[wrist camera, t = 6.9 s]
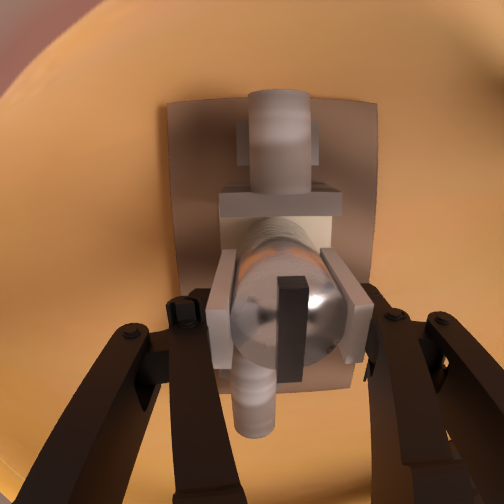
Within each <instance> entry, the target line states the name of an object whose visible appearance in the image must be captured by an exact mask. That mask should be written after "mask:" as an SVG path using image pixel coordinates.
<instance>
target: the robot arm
mask: <svg viewBox="0 0 504 504" xmlns="http://www.w3.org/2000/svg"><path fill="white" fill-rule="evenodd" d="M320 257H321V259H322V260H323V262H324V264H325V266H326V268H327V270H328V271H329V273H330V275H331V277H332V279H333V280H334V282H335V284H336V286H337V288H338V290H339V292H340V293H341V295H342V297H343V299H344V302H345V305H346V309H347V318H346V325H345V331H344V334H343V337H342V338H341V340H340V342H339V343H338V346H339V349H340V351H341V354H342V356H343V359H344V362H345V364H351V363H360V362H363V359H364V355H365V351H366V353H367V355H368V357H369V359H368V363H367V367H366V372H365V376H364V380H363V381H365V382H366V379H367V378H368V390H369V404H370V422H371V451H372V494H371V504H504V370H503V368H502V367H501V366H500V365H499V364H498V363H497V362H496V361H495V360H494V358H493V357H492V356H491V355H490V354H489V353H488V352H487V351H486V350H485V349H484V348H483V346H482V345H481V344H480V343H479V342H478V341H477V340H476V339H475V338H474V337H473V336H472V335H471V334H470V333H469V332H468V331H467V330H466V329H465V328H464V327H463V326H462V325H461V323H460V322H459V321H458V320H457V319H456V318H454V317H453V316H452V315H450V314H448V313H446V312H442V311H439V312H432V313H430V314H429V315H428V317H427V321H426V322H418V321H411V319H410V317H409V315H408V314H407V313H406V312H405V311H403V310H400V309H397V308H392V307H391V306H390V305H389V303H388V302H387V301H386V299H385V298H383V296H382V294H380V292H379V291H378V289H377V288H376V287H374V286H373V285H371V284H369V283H359V282H358V281H357V279H356V278H355V276H354V275H353V274H352V272H351V271H350V269H349V268H348V267H347V265H346V264H345V263H344V261H343V260H342V259H341V257H340V256H339V254H338V253H337V252H336V250H335V249H334V248H320ZM236 267H237V249H226V250H222V254H221V257H220V260H219V264H218V267H217V271H216V274H215V278H214V281H213V285H212V288H195V289H194V290H193V291H191V292H190V293H189V294H188V296H179V297H175V298H173V299H171V300H170V301H168V302H167V304H166V310H167V316H168V322H169V329H167V330H164V331H159V332H153V333H149V330H148V328H147V326H145V325H143V324H140V323H129V324H125V325H123V326H121V327H119V328H118V329H117V330H116V331H115V333H114V334H113V335H112V337H111V338H110V340H109V341H108V343H107V344H106V346H105V347H104V349H103V350H102V352H101V353H100V355H99V356H98V358H97V359H96V361H95V362H94V364H93V365H92V367H91V369H90V370H89V372H88V373H87V375H86V376H85V378H84V379H83V381H82V383H81V384H80V386H79V387H78V389H77V391H76V392H75V394H74V395H73V397H72V399H71V400H70V402H69V404H68V405H67V407H66V408H65V410H64V412H63V413H62V415H61V417H60V418H59V420H58V422H57V424H56V425H55V427H54V429H53V430H52V432H51V434H50V436H49V437H48V439H47V441H46V443H45V444H44V446H43V448H42V450H41V452H40V453H39V455H38V457H37V459H36V461H35V463H34V464H33V466H32V468H31V470H30V472H29V474H28V476H27V478H26V480H25V481H24V483H23V485H22V487H21V489H20V491H19V493H18V495H17V497H16V499H15V501H14V502H13V503H11V504H122V502H123V499H124V496H125V492H126V489H127V486H128V483H129V480H130V476H131V473H132V470H133V467H134V464H135V461H136V458H137V455H138V452H139V449H140V446H141V443H142V440H143V437H144V434H145V431H146V428H147V425H148V422H149V419H150V416H151V414H152V411H153V408H154V405H155V402H156V399H157V396H158V394H159V391H160V388H161V384H162V383H168V382H169V389H170V417H171V436H172V451H173V464H174V476H175V487H176V491H175V493H174V494H173V499H172V500H173V504H248V503H247V500H246V496H245V493H244V490H243V487H242V486H241V484H240V480H239V477H238V473H237V469H236V465H235V461H234V457H233V453H232V449H231V445H230V441H229V437H228V433H227V428H226V424H225V420H224V415H223V411H222V406H221V402H220V397H219V393H218V388H217V383H216V378H215V373H214V369H231V368H232V357H233V347H234V343H233V341H232V338H231V329H230V311H231V304H232V296H233V289H234V281H235V274H236ZM446 357H447V359H448V361H449V364H448V367H446V366H445V365H444V361H445V358H446ZM446 431H447V432H448V434H449V436H450V438H451V440H452V441H450V442H449V441H448V437H447V433H446Z"/></svg>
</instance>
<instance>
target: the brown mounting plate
mask: <svg viewBox="0 0 504 504" xmlns="http://www.w3.org/2000/svg"><path fill="white" fill-rule="evenodd" d="M167 123H168V152H169V172H170V189H171V203H172V216H173V228H174V239H175V249H176V259H177V268H178V276H179V285H180V293H181V296H188V294H189V293H190V292H191V291H193V290H194V289H195V288H212V285H213V281H214V278H215V274H216V271H217V267H218V264H219V260H220V257H221V254H222V250H226V249H237V259H238V252H239V246H240V243H241V240H242V238H243V236H244V235H245V233H246V232H247V231H248V230H249V229H250V228H251V227H252V226H253V225H255V224H256V223H258V222H260V221H262V220H265V219H270V218H283V219H288V220H291V221H293V222H295V223H297V224H298V225H300V226H301V227H302V228H303V229H304V230H305V231H306V233H307V234H308V236H309V237H310V239H311V241H312V243H313V244H314V246H315V248H316V250H317V252H318V253H319V255H320V248H334V249H335V250H336V252H337V253H338V254H339V256H340V257H341V259H342V260H343V261H344V263H345V264H346V265H347V267H348V268H349V269H350V271H351V272H352V274H353V275H354V276H355V278H356V279H357V281H358V282H359V283H369V277H370V268H371V259H372V250H373V239H374V227H375V214H376V197H377V171H378V114H377V104H376V103H367V102H358V101H347V100H335V99H319V98H310V94H309V93H307V92H303V91H298V90H288V89H272V90H261V91H256V92H252V93H250V94H248V98H224V99H208V100H195V101H185V102H175V103H167ZM354 367H355V363H351V364H345V362H344V359H343V356H342V354H341V351H340V349H339V346H338V345H337V346H336V347H335V348H334V349H333V351H332V352H331V353H329V354H328V355H327V356H326V357H324V358H323V359H322V360H320V361H318V362H316V363H314V364H312V365H310V366H307V367H304V368H303V377H302V382H295V383H277V380H276V370H273V369H268V368H265V367H262V366H259V365H257V364H255V363H253V362H251V361H250V360H248V359H247V358H246V357H244V356H243V355H242V354H241V353H240V352H239V350H238V349H237V348H236V346H235V345H234V347H233V357H232V368H231V369H214V373H215V378H216V383H217V388H218V393H219V394H231V397H232V407H233V417H234V426H235V429H236V431H237V432H238V433H239V434H240V435H242V436H244V437H246V438H251V439H258V438H262V437H265V436H267V435H268V434H270V433H271V432H272V431H273V429H274V426H275V407H276V393H296V392H312V391H325V390H336V389H345V388H350V385H351V381H352V376H353V372H354Z"/></svg>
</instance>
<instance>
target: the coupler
mask: <svg viewBox="0 0 504 504" xmlns="http://www.w3.org/2000/svg"><path fill="white" fill-rule="evenodd" d="M346 318H347V309H346V305H345V302H344V299H343V297H342V295H341V293H340V292H339V290H338V288H337V286H336V284H335V282H334V280H333V279H332V277H331V275H330V273H329V271H328V270H327V268H326V266H325V264H324V262H323V260H322V259H321V257H320V255H319V253H318V252H317V250H316V248H315V246H314V244H313V243H312V241H311V239H310V237H309V236H308V234H307V233H306V231H305V230H304V229H303V228H302V227H301V226H300V225H298V224H297V223H295V222H293V221H291V220H288V219H283V218H270V219H265V220H262V221H260V222H258V223H256V224H255V225H253V226H252V227H251V228H250V229H249V230H248V231H247V232H246V233H245V235H244V236H243V238H242V240H241V243H240V246H239V252H238V259H237V267H236V274H235V281H234V289H233V296H232V304H231V311H230V329H231V338H232V341H233V343H234V345H235V346H236V348H237V349H238V350H239V352H240V353H241V354H242V355H243V356H244V357H246V358H247V359H248V360H250V361H251V362H253V363H255V364H257V365H259V366H262V367H265V368H268V369H273V370H276V380H277V383H295V382H302V377H303V368H304V367H307V366H310V365H312V364H314V363H316V362H318V361H320V360H322V359H323V358H324V357H326V356H327V355H328V354H329V353H331V352H332V351H333V349H334V348H335V347H336V346H337V345H338V343H339V342H340V340H341V338H342V337H343V334H344V331H345V325H346Z"/></svg>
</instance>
